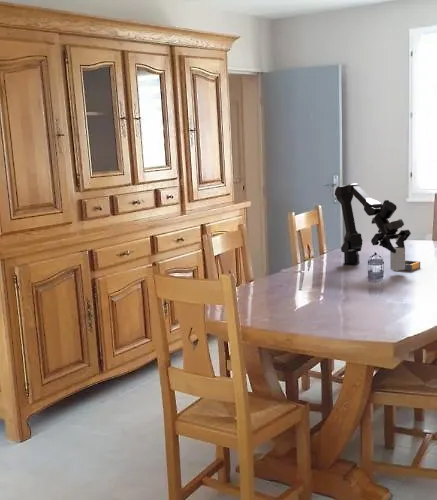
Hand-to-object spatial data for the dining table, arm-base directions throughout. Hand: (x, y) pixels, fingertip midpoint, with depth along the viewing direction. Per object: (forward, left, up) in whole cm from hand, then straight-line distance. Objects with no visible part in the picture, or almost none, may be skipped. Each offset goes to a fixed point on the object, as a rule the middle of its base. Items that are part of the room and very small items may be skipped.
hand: (399, 252), depth 292 cm
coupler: (-1, +15, -11) cm, 18 cm away
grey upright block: (-1, +1, -8) cm, 8 cm away
